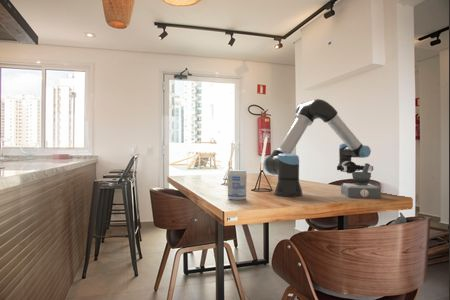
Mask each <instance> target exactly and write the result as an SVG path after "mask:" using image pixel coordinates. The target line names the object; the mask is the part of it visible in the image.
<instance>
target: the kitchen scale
mask: <svg viewBox="0 0 450 300" xmlns="http://www.w3.org/2000/svg"><path fill="white" fill-rule="evenodd" d="M340 194H341V195H343V196H345V197H346V198H354V199H355V198H360V199H361V198H363V199H364V198H366V199H381V188H380V187H378V186H377V185H374V184H371V183H368V185H356V183H354V182H353V183H350V182H349V183H348V182H346V183H345V182H344V183H342V184H340Z"/></svg>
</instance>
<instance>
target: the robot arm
mask: <svg viewBox="0 0 450 300" xmlns="http://www.w3.org/2000/svg"><path fill="white" fill-rule="evenodd" d="M338 112H339V111H337V110H336V108H335V107H334V106H332V105H331V104H330V102H328V101H326V100H324V99H320V98H317V99H313V100H310V101H305V102H302V103H300V104H299V105H298V106H297V107H296V110H295V116H294V118H295V120H294V122H293V124H292V125H291V126H290V129H288V131H287V133H286V135H285V136H284V138H283V139H282V141H281V143H280V144H279V146H278V148H274V150H273V151H272V153H271V154H270V155H268V156H266V157H265V158H264V161H263V167H264V170H265V171H266V172H267V173H268V174H271V175H272V176H277V182H276V183H277V184H276V187H275V189H274V195H275V196H280V197H301V196H303V190H302V186H301V184H300V157H299V155H297V154H295V153H293V151H294V150H295V147H296V146H297V144H298V143H299V141H300V140H301V138H302V136H303V135H304V134H305V131H306V130H307V128H308V127H309V126H312V125H313V122H315V120H316V119H320V120H321V121H323V122H324V123H326V124H328V126H329V127H330V128H331V129H332V130H333V132H334V133H335V134H336V135H337V136H338V138H339V139H340V140H341V141H342V142H343V143H340V144H339V149H338V150H339V151H338V156H339V157H338V158H339V161H338V164H337V166H336V170H337V171H340V172H343V173H347V174H348V175H349V174H352V172H361V171H363V169H364V166H365V165H360V164H356V163H355V162H353V161H352V158H359V159H363V158H368V157H370V155H371V152H372V150H371V148H370V146H368V145H363V143H362V142H361V140H359V138H357V137H356V135H355V134H354V132H353V131H351V129H350V128H349V127H348V126H347V125H346V123H345V122H344V120H342V119H341V117H340V116H339V115H338ZM373 171H374V165H373V166H372V165H370V167H369V169H368V172H373Z"/></svg>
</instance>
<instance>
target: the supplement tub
mask: <svg viewBox="0 0 450 300" xmlns="http://www.w3.org/2000/svg"><path fill="white" fill-rule="evenodd" d="M227 175H228V176H227V198H228V199H229V200H232V201H242V200H246V199H247V170H244V169H243V170H242V169H229V170H228V173H227Z"/></svg>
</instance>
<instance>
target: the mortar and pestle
mask: <svg viewBox="0 0 450 300" xmlns="http://www.w3.org/2000/svg"><path fill="white" fill-rule="evenodd" d="M363 166H364V169H363V170H361V171H355V172H352V173H351V176H352V179H353V180H354V182H355V184H356V185H368V184H369V183H368V182H369V181H370V179H371V177H372V172H371V171H368V169H369V167H370V166H371V165H370V163H364V165H363Z"/></svg>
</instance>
